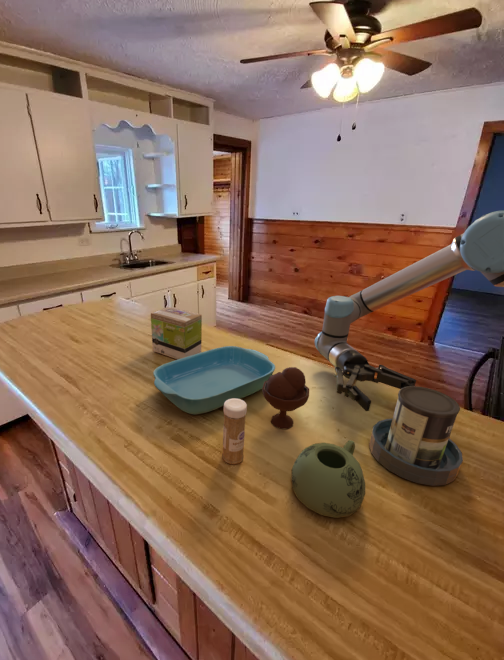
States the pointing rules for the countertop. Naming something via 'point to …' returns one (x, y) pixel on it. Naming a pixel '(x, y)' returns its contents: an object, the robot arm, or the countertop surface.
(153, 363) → the countertop surface
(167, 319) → the tea box
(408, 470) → the dark blue round tray
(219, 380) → the casserole dish
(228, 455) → the sprinkles bottle
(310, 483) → the green ceramic pot
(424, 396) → the coffee can
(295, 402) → the ice cream bowl
